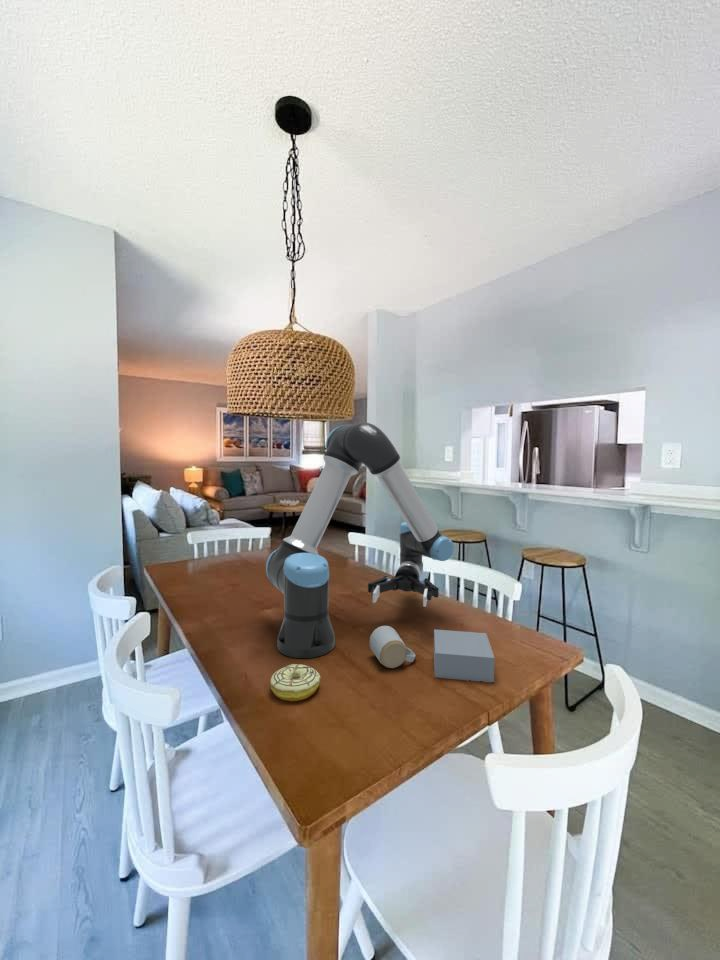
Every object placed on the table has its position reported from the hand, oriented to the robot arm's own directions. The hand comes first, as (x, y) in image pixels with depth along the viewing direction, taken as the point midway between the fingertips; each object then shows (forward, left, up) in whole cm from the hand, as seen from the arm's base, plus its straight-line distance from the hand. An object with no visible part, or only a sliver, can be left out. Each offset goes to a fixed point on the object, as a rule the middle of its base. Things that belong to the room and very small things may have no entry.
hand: (398, 599), depth 111 cm
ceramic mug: (0, -10, -12) cm, 16 cm away
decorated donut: (-19, -27, -12) cm, 35 cm away
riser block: (+16, -8, -12) cm, 22 cm away
